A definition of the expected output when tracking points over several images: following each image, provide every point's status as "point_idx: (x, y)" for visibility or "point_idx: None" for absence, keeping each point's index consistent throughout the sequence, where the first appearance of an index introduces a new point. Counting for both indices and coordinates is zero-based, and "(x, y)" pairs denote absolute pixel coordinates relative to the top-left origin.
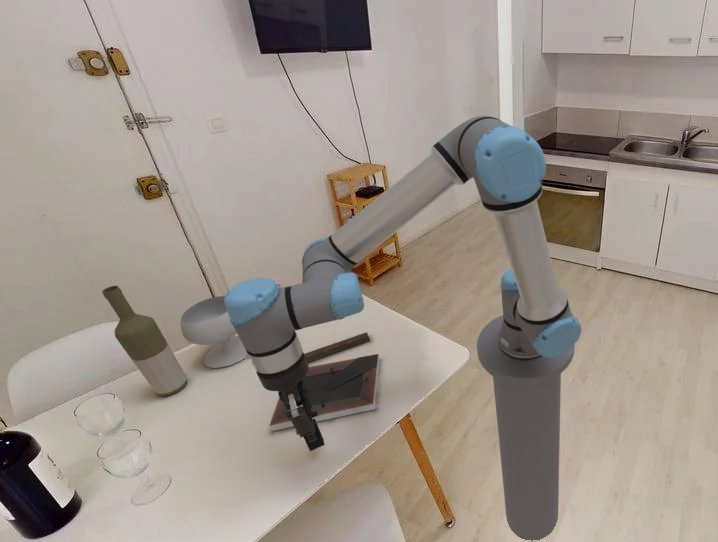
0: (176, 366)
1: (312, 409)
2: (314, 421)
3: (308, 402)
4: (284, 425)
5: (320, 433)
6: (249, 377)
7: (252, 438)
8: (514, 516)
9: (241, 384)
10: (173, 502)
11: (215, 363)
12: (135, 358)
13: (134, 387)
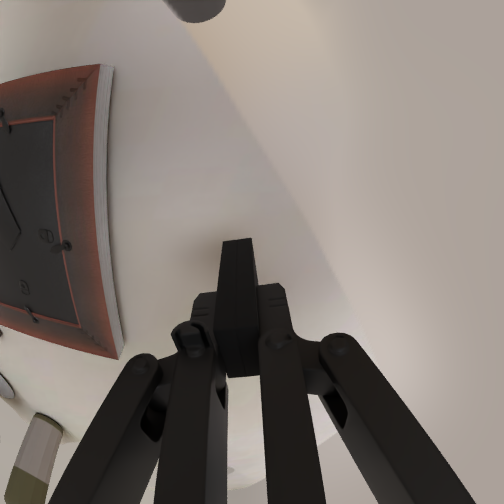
0: (31, 441)
1: (76, 274)
2: (234, 330)
3: (140, 403)
4: (116, 329)
5: (235, 267)
6: (14, 362)
7: None
8: (207, 8)
9: (27, 372)
10: (237, 426)
11: (8, 392)
12: (47, 488)
13: None
